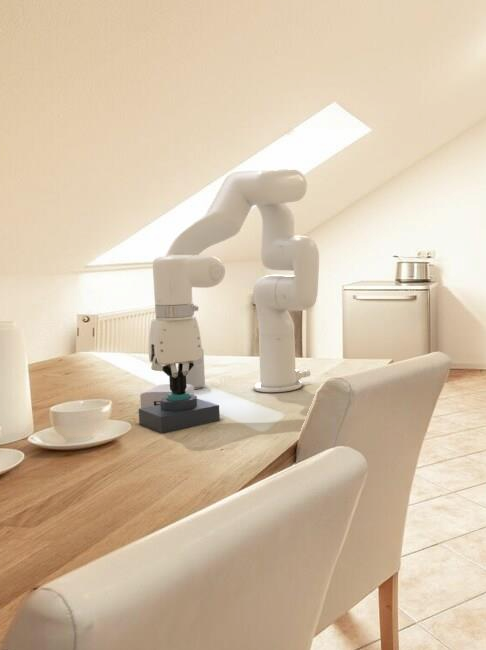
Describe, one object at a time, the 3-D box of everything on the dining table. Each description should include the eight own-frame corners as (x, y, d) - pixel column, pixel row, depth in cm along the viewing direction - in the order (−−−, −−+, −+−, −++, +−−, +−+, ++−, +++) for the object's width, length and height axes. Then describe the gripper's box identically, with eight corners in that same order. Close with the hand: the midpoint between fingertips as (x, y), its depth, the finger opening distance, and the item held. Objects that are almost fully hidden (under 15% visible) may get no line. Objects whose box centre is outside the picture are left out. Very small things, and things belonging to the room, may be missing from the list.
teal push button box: (196, 412, 150) (195, 389, 150) (219, 420, 144) (218, 396, 143) (139, 424, 140) (137, 399, 140) (161, 433, 134) (160, 407, 133)
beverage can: (209, 387, 178) (208, 345, 176) (188, 391, 172) (186, 348, 171) (196, 384, 181) (194, 343, 180) (175, 388, 176) (173, 346, 175)
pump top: (183, 398, 145) (183, 390, 144) (193, 401, 142) (193, 392, 142) (164, 402, 141) (164, 393, 141) (173, 405, 138) (173, 396, 138)
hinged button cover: (203, 396, 166) (180, 411, 151) (167, 397, 166) (140, 411, 151) (202, 378, 166) (179, 391, 151) (166, 379, 165) (139, 392, 150)
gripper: (198, 308, 148) (202, 385, 149) (131, 314, 136) (136, 397, 138) (215, 310, 143) (218, 389, 145) (146, 316, 131) (151, 402, 133)
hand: (178, 393), depth 141 cm, fingers closed
